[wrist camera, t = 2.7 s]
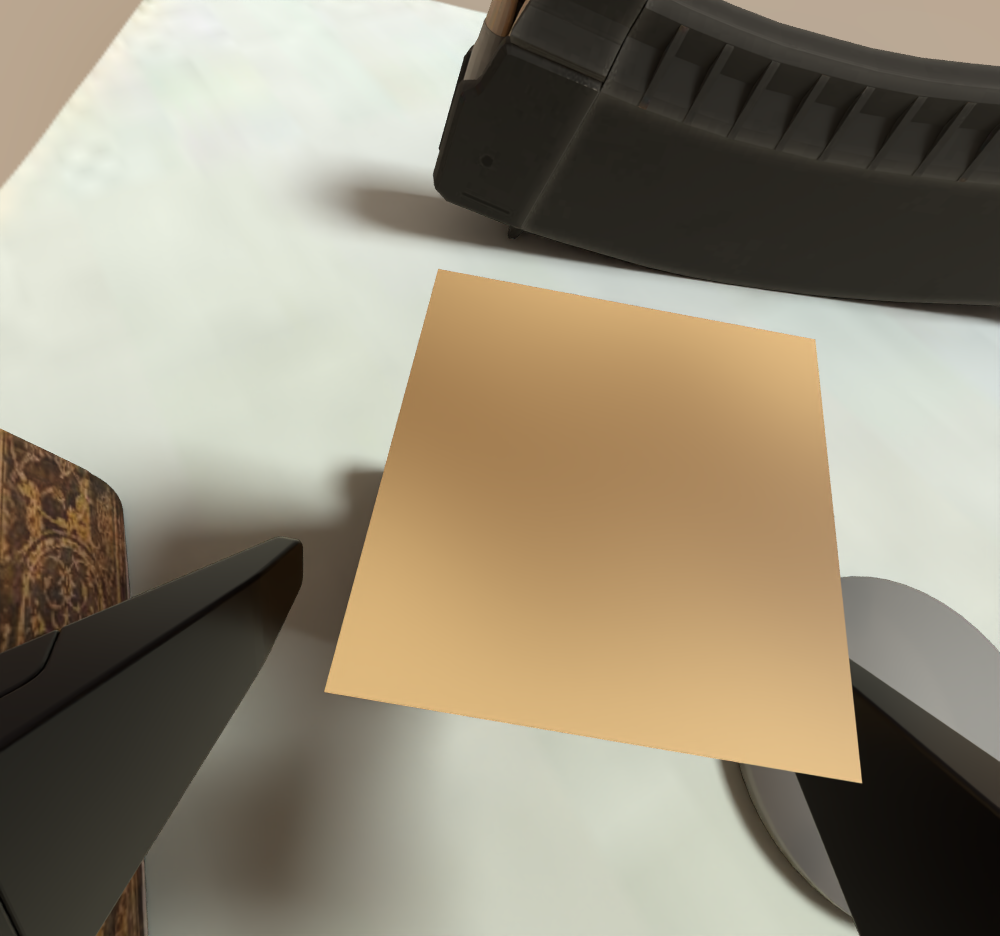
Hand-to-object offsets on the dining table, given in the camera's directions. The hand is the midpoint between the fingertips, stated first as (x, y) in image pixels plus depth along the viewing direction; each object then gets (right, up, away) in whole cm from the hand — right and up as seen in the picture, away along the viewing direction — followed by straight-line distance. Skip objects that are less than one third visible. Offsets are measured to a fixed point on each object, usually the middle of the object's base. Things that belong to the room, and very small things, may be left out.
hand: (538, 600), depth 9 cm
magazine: (+11, +13, +16) cm, 23 cm away
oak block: (-1, -2, +9) cm, 9 cm away
